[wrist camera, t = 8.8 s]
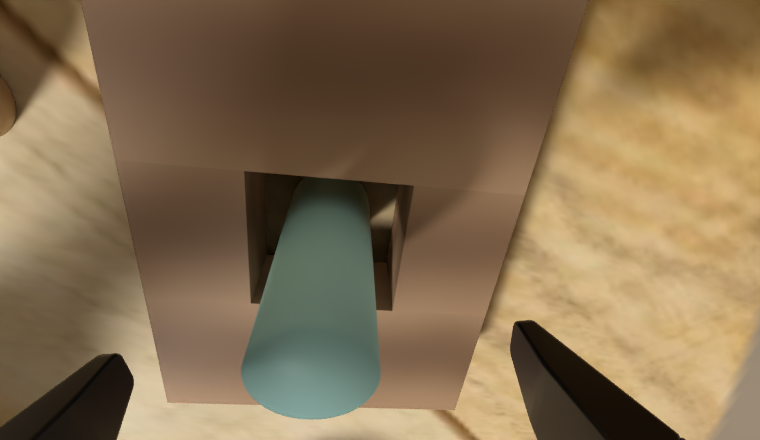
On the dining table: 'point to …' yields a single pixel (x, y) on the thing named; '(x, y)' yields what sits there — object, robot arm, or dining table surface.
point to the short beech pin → (6, 108)
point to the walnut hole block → (325, 161)
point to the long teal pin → (318, 308)
